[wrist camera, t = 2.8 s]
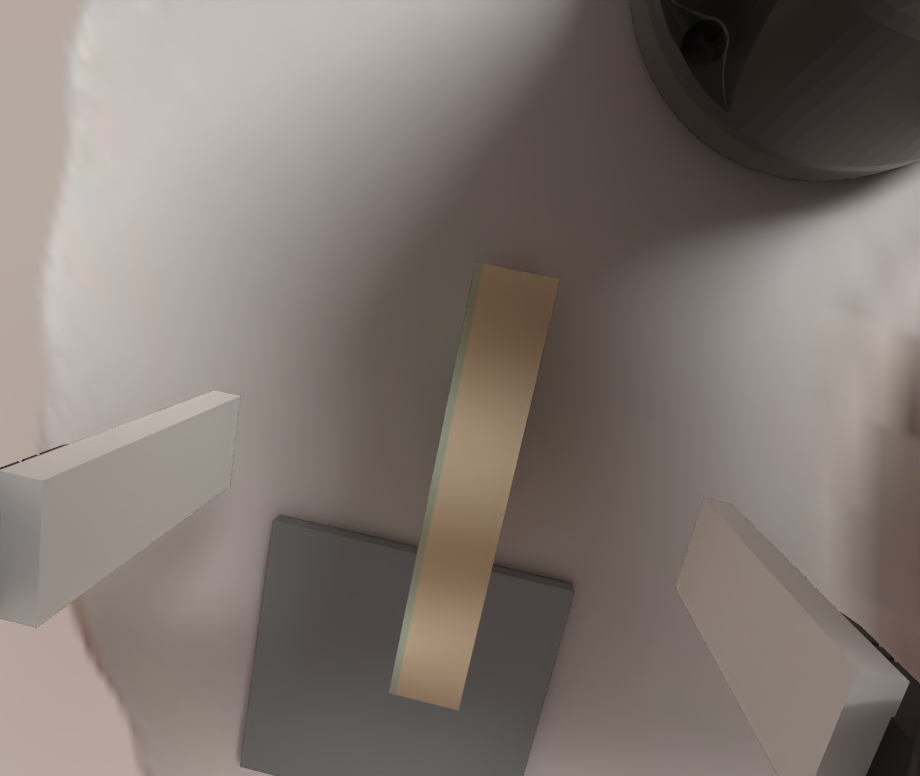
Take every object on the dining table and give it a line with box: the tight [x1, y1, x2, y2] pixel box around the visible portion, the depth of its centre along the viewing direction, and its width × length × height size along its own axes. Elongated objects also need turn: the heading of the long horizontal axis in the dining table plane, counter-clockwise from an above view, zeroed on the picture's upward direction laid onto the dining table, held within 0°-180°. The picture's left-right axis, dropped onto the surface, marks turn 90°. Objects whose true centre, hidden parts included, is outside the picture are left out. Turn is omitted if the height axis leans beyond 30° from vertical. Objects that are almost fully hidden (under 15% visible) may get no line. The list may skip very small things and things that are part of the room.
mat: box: [240, 515, 574, 776], centre depth 26 cm, size 14×14×1 cm
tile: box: [389, 262, 560, 711], centre depth 19 cm, size 12×2×10 cm, turn 169°
